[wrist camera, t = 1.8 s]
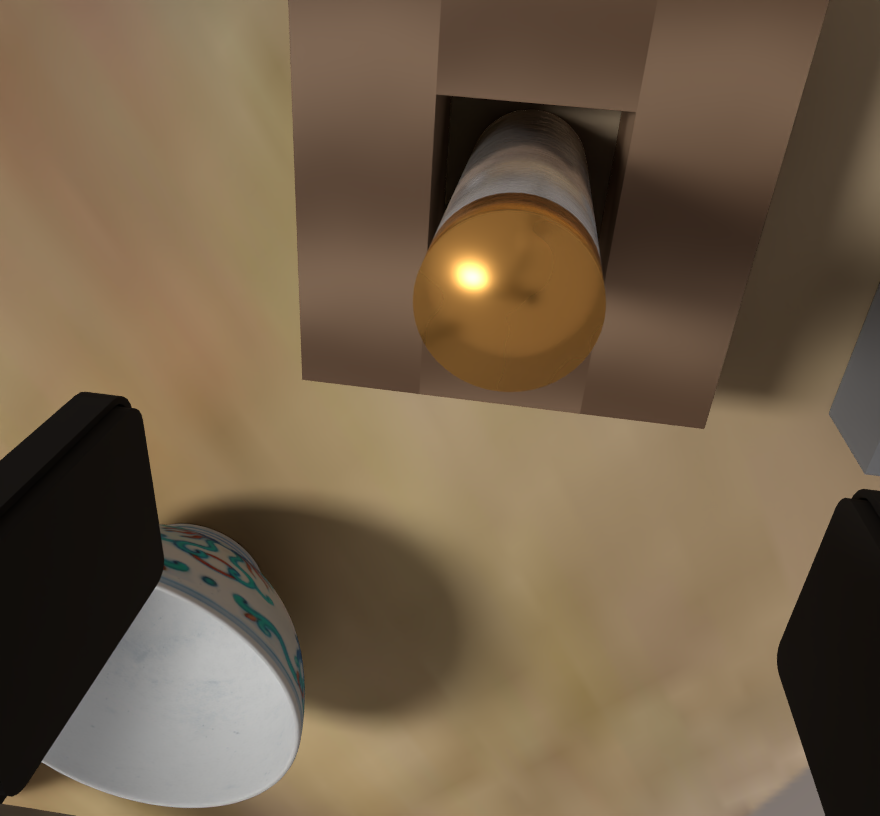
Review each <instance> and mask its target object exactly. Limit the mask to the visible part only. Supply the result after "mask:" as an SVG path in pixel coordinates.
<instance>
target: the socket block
mask: <svg viewBox="0 0 880 816" xmlns="http://www.w3.org/2000/svg"><path fill="white" fill-rule="evenodd" d="M829 1H830V0H288V7H289V33H290V60H291V87H292V114H293V141H294V167H295V194H296V221H297V248H298V275H299V301H300V328H301V355H302V380H310V381H318V382H326V383H335V384H343V385H351V386H359V387H367V388H375V389H383V390H392V391H400V392H408V393H416V394H424V395H432V396H440V397H449V398H457V399H465V400H473V401H481V402H489V403H498V404H506V405H514V406H522V407H530V408H538V409H546V410H555V411H563V412H571V413H579V414H587V415H595V416H603V417H612V418H620V419H628V420H636V421H644V422H652V423H660V424H669V425H677V426H685V427H693V428H701V429H704V428H705V425H706V422H707V418H708V415H709V411H710V408H711V404H712V401H713V398H714V394H715V391H716V387H717V384H718V381H719V377H720V374H721V370H722V367H723V363H724V360H725V357H726V353H727V350H728V346H729V343H730V339H731V336H732V333H733V329H734V326H735V322H736V319H737V316H738V312H739V309H740V305H741V302H742V298H743V295H744V292H745V288H746V285H747V281H748V278H749V275H750V271H751V268H752V264H753V261H754V257H755V254H756V251H757V247H758V244H759V240H760V237H761V233H762V230H763V227H764V223H765V220H766V216H767V213H768V210H769V206H770V203H771V199H772V196H773V192H774V189H775V186H776V182H777V179H778V175H779V172H780V169H781V165H782V162H783V158H784V155H785V151H786V148H787V145H788V141H789V138H790V134H791V131H792V127H793V124H794V121H795V117H796V114H797V110H798V107H799V104H800V100H801V97H802V93H803V90H804V86H805V83H806V80H807V76H808V73H809V69H810V66H811V63H812V59H813V56H814V52H815V49H816V45H817V42H818V39H819V35H820V32H821V28H822V25H823V21H824V18H825V15H826V11H827V8H828V4H829ZM452 96H460V97H472V98H483V99H494V100H505V101H516V102H528V103H539V104H550V105H561V106H573V107H584V108H595V109H606V110H618V111H622V113H621V119H620V124H619V130H618V135H617V141H616V147H615V152H614V158H613V164H612V169H611V175H610V180H609V186H608V192H607V197H606V203H605V209H604V214H603V220H602V225H601V231H600V237H599V242H598V244H599V251H600V258H601V265H602V272H603V280H604V287H605V294H606V312H605V320H604V323H603V327H602V331H601V333H600V335H599V338H598V340H597V342H596V344H595V345H594V347H593V349H592V351H591V352H590V353H589V355H588V356H587V357H586V358H585V360H584V361H583V362H582V363H581V364H580V365H579V366H578V367H577V368H576V369H574V370H573V371H572V372H570V373H569V374H568V375H566V376H565V377H563V378H561V379H559V380H558V381H556V382H554V383H551V384H549V385H547V386H544V387H541V388H537V389H534V390H528V391H522V392H500V391H493V390H487V389H484V388H480V387H477V386H474V385H472V384H469V383H467V382H465V381H463V380H461V379H459V378H458V377H456V376H454V375H453V374H451V373H450V372H449V371H447V370H446V369H445V368H444V367H443V366H442V365H441V364H440V363H438V362H437V361H436V359H435V358H434V357H433V356H432V355H431V353H430V352H429V351H428V349H427V347H426V346H425V344H424V343H423V341H422V338H421V336H420V334H419V332H418V329H417V326H416V322H415V318H414V312H413V292H414V285H415V281H416V277H417V274H418V271H419V269H420V267H421V264H422V262H423V260H424V258H425V255H426V253H427V251H428V249H429V247H430V244H431V242H432V240H433V238H434V236H435V233H436V231H437V229H438V227H439V224H440V222H441V220H442V218H443V216H444V203H445V188H446V173H447V158H448V143H449V128H450V113H451V97H452Z"/></svg>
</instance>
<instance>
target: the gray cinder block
mask: <svg viewBox="0 0 880 816" xmlns="http://www.w3.org/2000/svg"><path fill="white" fill-rule="evenodd" d="M829 415H830V417H831V418H832V420H833V422H834V423H835V425H836V427H837V428H838V430H839V432H840V433H841V435H842V437H843V438H844V440H845V442H846V443H847V445H848V447H849V448H850V450H851V452H852V454H853V455H854V457H855V459H856V460H857V462H858V464H859V465H860V467H861V469H862V470H863V472H864V474H868V475H876V476H880V283H879V286H878V288H877V291H876V294H875V296H874V299H873V301H872V304H871V306H870V309H869V312H868V314H867V317H866V319H865V322H864V324H863V327H862V330H861V332H860V335H859V337H858V340H857V342H856V345H855V347H854V350H853V353H852V355H851V358H850V360H849V363H848V365H847V368H846V371H845V373H844V376H843V378H842V381H841V383H840V386H839V388H838V391H837V394H836V396H835V399H834V401H833V404H832V406H831V409H830V412H829Z"/></svg>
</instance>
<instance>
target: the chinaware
mask: <svg viewBox="0 0 880 816" xmlns="http://www.w3.org/2000/svg"><path fill="white" fill-rule="evenodd" d="M159 527H160V533H161V540H162V546H163V553H164V568H163V572H162V576H161V578H160V581H159V582H158V584H157V586H156V587H155V589H154V591H153V592H152V594H151V595H150V597H149V598H148V600H147V601H146V603H145V604H144V606H143V607H142V609H141V610H140V612H139V613H138V615H137V617H136V618H135V620H134V621H133V623H132V624H131V626H130V627H129V629H128V630H127V632H126V633H125V635H124V636H123V638H122V639H121V641H120V643H119V644H118V646H117V647H116V649H115V650H114V652H113V653H112V655H111V656H110V658H109V659H108V661H107V662H106V664H105V665H104V667H103V668H102V670H101V672H100V673H99V675H98V676H97V678H96V679H95V681H94V682H93V684H92V685H91V687H90V688H89V690H88V691H87V693H86V694H85V696H84V698H83V699H82V701H81V702H80V704H79V705H78V707H77V708H76V710H75V711H74V713H73V714H72V716H71V717H70V719H69V720H68V722H67V724H66V725H65V727H64V728H63V730H62V731H61V733H60V734H59V736H58V737H57V739H56V740H55V742H54V743H53V745H52V746H51V748H50V749H49V751H48V753H47V754H46V756H45V757H44V759H43V760H42V763H44V764H46V765H47V766H49V767H51V768H52V769H54V770H56V771H58V772H60V773H62V774H64V775H65V776H67V777H69V778H71V779H74V780H76V781H78V782H80V783H82V784H85V785H87V786H90V787H92V788H95V789H97V790H100V791H103V792H106V793H108V794H112V795H115V796H118V797H121V798H125V799H129V800H133V801H137V802H142V803H147V804H152V805H159V806H167V807H178V808H206V807H216V806H223V805H228V804H233V803H237V802H240V801H244V800H247V799H249V798H252V797H254V796H256V795H258V794H260V793H262V792H264V791H266V790H267V789H269V788H270V787H272V786H273V785H274V784H276V783H277V782H278V781H279V780H280V779H281V778H282V777H283V776H284V775H285V774H286V772H287V771H288V770H289V768H290V767H291V765H292V763H293V761H294V759H295V757H296V754H297V752H298V748H299V745H300V740H301V734H302V727H303V718H304V702H305V683H304V669H303V661H302V655H301V650H300V645H299V641H298V638H297V634H296V631H295V628H294V626H293V623H292V620H291V618H290V616H289V614H288V612H287V610H286V608H285V606H284V604H283V602H282V600H281V599H280V597H279V596H278V594H277V592H276V591H275V590H274V588H273V587H272V586H271V584H270V583H269V582H268V580H267V579H266V578H265V577H264V576H263V575H262V574H261V571H260V569H259V567H258V565H257V564H256V562H255V561H254V559H253V558H252V557H251V556H250V554H249V553H248V552H247V551H246V550H245V549H244V548H243V547H242V546H240V545H239V544H238V543H237V542H235V541H234V540H232V539H231V538H229V537H227V536H226V535H224V534H222V533H220V532H217V531H215V530H212V529H210V528H207V527H203V526H199V525H193V524H171V525H165V524H159Z"/></svg>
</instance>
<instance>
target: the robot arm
mask: <svg viewBox="0 0 880 816" xmlns="http://www.w3.org/2000/svg"><path fill="white" fill-rule="evenodd" d="M163 568H164V553H163V546H162V540H161V533H160V527H159V520H158V514H157V508H156V501H155V495H154V488H153V482H152V476H151V469H150V463H149V456H148V450H147V443H146V437H145V431H144V424H143V419H142V415H141V413H140V411H139V410H137V409H135V408H131V404H130V403H129V401H128V399H126V398H125V397H123V396H115V395H107V394H99V393H91V392H80V393H79V394H77V395H75V396H74V397H73V398H72V399H71V400H70V401H68V402H67V403H66V404H65V405H64V406H63V407H61V408H60V409H59V410H58V411H57V412H56V413H55V414H53V415H52V416H51V417H50V418H49V419H48V420H47V421H45V422H44V423H43V424H42V425H41V426H40V427H38V428H37V429H36V430H35V431H34V432H33V433H32V434H30V435H29V436H28V437H27V438H26V439H25V440H23V441H22V442H21V443H20V444H19V445H18V446H17V447H15V448H14V449H13V450H12V451H11V452H10V453H8V454H7V455H6V456H5V457H4V458H3V459H2V460H0V816H74V815H68V814H62V813H56V812H50V811H44V810H38V809H32V808H26V807H19V806H12V805H5V804H2V803H3V801H4V800H5V798H6V797H7V796H11V797H12V796H14V795H17V794H18V793H19V792H20V791H21V790H23V788H24V787H25V786H26V784H27V783H28V782H29V780H30V779H31V777H32V775H33V774H34V772H35V771H36V769H37V768H38V766H39V765H40V763H41V762H42V760H43V759H44V757H45V756H46V754H47V753H48V751H49V749H50V748H51V746H52V745H53V743H54V742H55V740H56V739H57V737H58V736H59V734H60V733H61V731H62V730H63V728H64V727H65V725H66V724H67V722H68V720H69V719H70V717H71V716H72V714H73V713H74V711H75V710H76V708H77V707H78V705H79V704H80V702H81V701H82V699H83V698H84V696H85V694H86V693H87V691H88V690H89V688H90V687H91V685H92V684H93V682H94V681H95V679H96V678H97V676H98V675H99V673H100V672H101V670H102V668H103V667H104V665H105V664H106V662H107V661H108V659H109V658H110V656H111V655H112V653H113V652H114V650H115V649H116V647H117V646H118V644H119V643H120V641H121V639H122V638H123V636H124V635H125V633H126V632H127V630H128V629H129V627H130V626H131V624H132V623H133V621H134V620H135V618H136V617H137V615H138V613H139V612H140V610H141V609H142V607H143V606H144V604H145V603H146V601H147V600H148V598H149V597H150V595H151V594H152V592H153V591H154V589H155V587H156V586H157V584H158V582H159V581H160V578H161V576H162V572H163ZM777 666H778V672H779V676H780V679H781V682H782V685H783V688H784V691H785V694H786V697H787V700H788V703H789V706H790V709H791V712H792V715H793V718H794V721H795V725H796V728H797V731H798V734H799V737H800V740H801V743H802V746H803V749H804V752H805V755H806V758H807V761H808V764H809V767H810V770H811V773H812V776H813V779H814V782H815V785H816V788H817V791H818V794H819V797H820V800H821V803H822V806H823V810H824V813H825V816H880V491H876V490H868V489H862V490H859V491H857V492H856V493H855V494H854V495H853V497H852V499H850V498H844V499H842V500H841V501H840V502H839V503H838V505H837V506H836V508H835V511H834V513H833V516H832V518H831V520H830V523H829V525H828V528H827V530H826V532H825V535H824V537H823V540H822V542H821V545H820V547H819V549H818V552H817V554H816V557H815V559H814V562H813V564H812V566H811V569H810V571H809V574H808V576H807V578H806V581H805V583H804V586H803V588H802V591H801V593H800V595H799V598H798V600H797V603H796V605H795V607H794V610H793V612H792V615H791V617H790V620H789V622H788V624H787V627H786V629H785V632H784V634H783V636H782V639H781V641H780V644H779V647H778V653H777Z"/></svg>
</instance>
